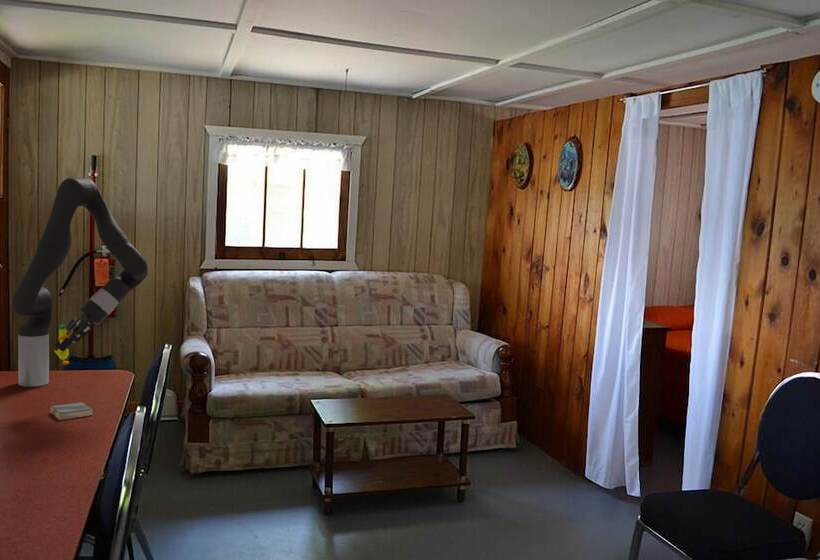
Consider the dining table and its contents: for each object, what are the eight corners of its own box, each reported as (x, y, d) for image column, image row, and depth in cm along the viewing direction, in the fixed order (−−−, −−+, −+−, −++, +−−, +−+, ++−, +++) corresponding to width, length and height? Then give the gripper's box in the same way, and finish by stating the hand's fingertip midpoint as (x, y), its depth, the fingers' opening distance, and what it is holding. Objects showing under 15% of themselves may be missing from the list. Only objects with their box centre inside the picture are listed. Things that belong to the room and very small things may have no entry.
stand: (50, 412, 210) (50, 406, 209) (82, 408, 216) (82, 401, 215) (59, 420, 203) (59, 413, 203) (92, 415, 209) (92, 408, 209)
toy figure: (78, 361, 220) (78, 324, 219) (77, 364, 216) (77, 325, 215) (54, 362, 217) (53, 324, 216) (53, 365, 214) (52, 326, 213)
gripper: (83, 296, 225) (42, 337, 218) (98, 301, 215) (55, 344, 208) (100, 311, 229) (60, 352, 222) (116, 317, 219) (74, 360, 212)
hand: (58, 348), depth 215 cm, fingers closed on toy figure, 3 cm apart
